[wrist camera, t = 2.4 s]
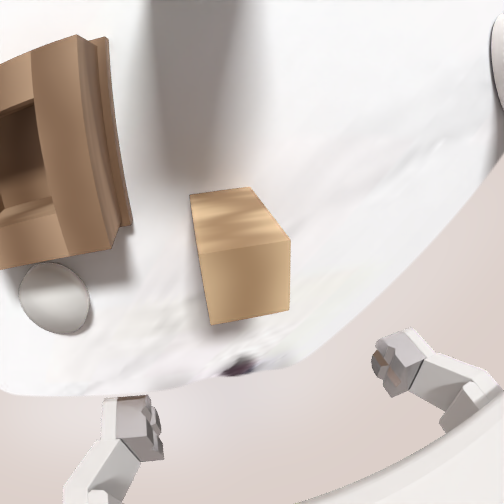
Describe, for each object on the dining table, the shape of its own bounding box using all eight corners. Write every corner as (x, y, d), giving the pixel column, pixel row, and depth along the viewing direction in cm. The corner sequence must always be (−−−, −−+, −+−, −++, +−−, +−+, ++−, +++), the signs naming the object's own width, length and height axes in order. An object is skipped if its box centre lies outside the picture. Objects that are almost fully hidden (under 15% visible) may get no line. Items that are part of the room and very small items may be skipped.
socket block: (108, 39, 13) (86, 22, 9) (132, 219, 19) (122, 255, 15) (-39, 97, 11) (-82, 106, 7) (-5, 248, 17) (-34, 284, 13)
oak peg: (249, 186, 20) (290, 240, 14) (252, 240, 22) (289, 310, 16) (189, 195, 20) (198, 254, 13) (197, 248, 22) (210, 325, 15)
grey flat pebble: (75, 254, 20) (70, 265, 19) (100, 317, 23) (97, 330, 22) (14, 266, 19) (7, 277, 18) (42, 324, 22) (38, 336, 21)
